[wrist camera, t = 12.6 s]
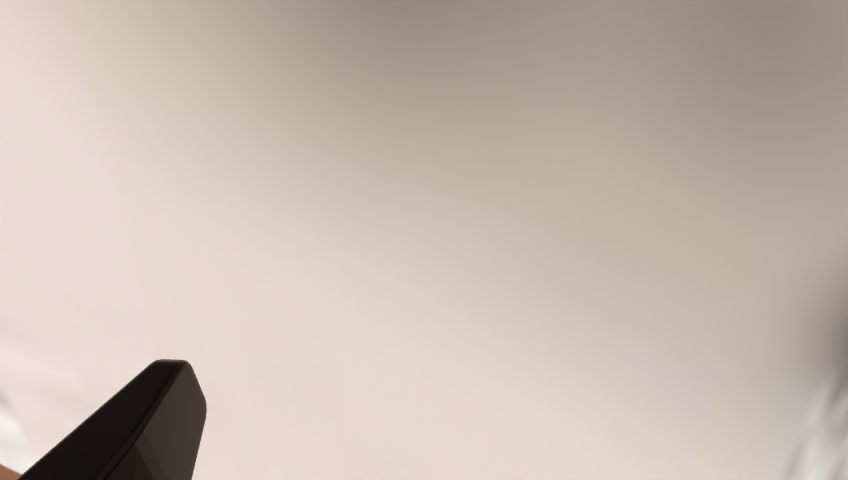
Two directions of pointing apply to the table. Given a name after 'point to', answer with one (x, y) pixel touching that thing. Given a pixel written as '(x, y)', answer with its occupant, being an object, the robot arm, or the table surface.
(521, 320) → the table surface
